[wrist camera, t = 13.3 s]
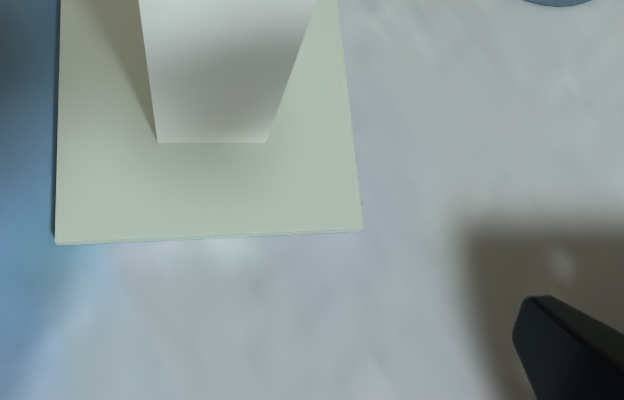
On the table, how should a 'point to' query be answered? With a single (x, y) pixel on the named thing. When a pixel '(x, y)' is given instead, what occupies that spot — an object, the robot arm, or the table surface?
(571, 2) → the cocktail glass
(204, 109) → the plug
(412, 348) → the table surface
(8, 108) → the table surface
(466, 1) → the table surface
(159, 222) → the rubber mat
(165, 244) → the table surface
